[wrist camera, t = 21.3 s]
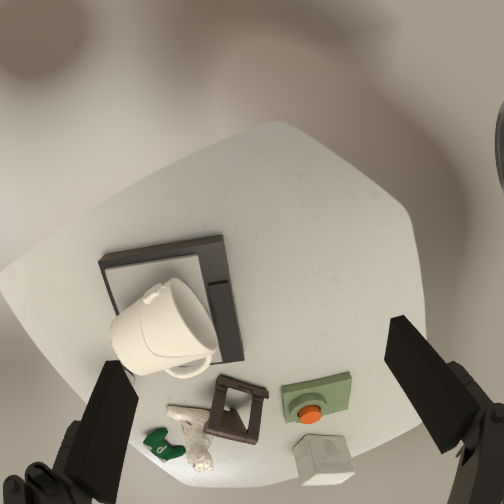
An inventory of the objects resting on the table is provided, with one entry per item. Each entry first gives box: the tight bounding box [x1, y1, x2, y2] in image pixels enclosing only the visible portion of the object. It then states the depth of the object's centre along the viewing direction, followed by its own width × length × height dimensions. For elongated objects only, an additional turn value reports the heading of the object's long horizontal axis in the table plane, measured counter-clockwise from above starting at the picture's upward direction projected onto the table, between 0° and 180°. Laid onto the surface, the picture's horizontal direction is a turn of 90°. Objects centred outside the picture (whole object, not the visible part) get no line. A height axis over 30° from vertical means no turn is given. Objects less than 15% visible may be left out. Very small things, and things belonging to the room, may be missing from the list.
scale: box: [98, 235, 245, 367], centre depth 38 cm, size 16×18×3 cm
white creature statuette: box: [167, 406, 214, 472], centre depth 42 cm, size 10×9×12 cm
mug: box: [110, 278, 218, 378], centre depth 32 cm, size 12×9×8 cm
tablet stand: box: [203, 376, 269, 445], centre depth 42 cm, size 9×8×8 cm
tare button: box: [299, 405, 321, 424], centre depth 44 cm, size 4×4×2 cm
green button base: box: [282, 372, 352, 423], centre depth 47 cm, size 12×9×4 cm
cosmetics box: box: [293, 434, 356, 485], centre depth 50 cm, size 10×6×10 cm, turn 66°
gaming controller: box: [143, 428, 186, 463], centre depth 49 cm, size 9×4×6 cm
